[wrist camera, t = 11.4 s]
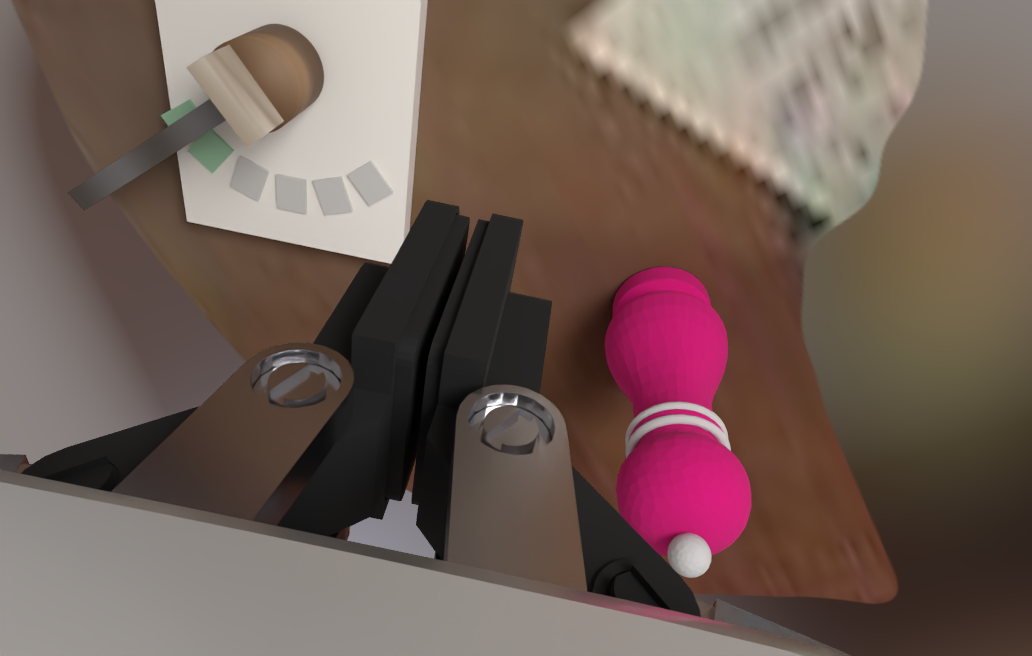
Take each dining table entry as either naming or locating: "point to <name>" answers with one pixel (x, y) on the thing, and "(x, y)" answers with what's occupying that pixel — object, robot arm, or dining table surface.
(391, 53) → the dial board
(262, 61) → the brown grey handled piece
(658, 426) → the pepper mill
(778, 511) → the dining table surface
